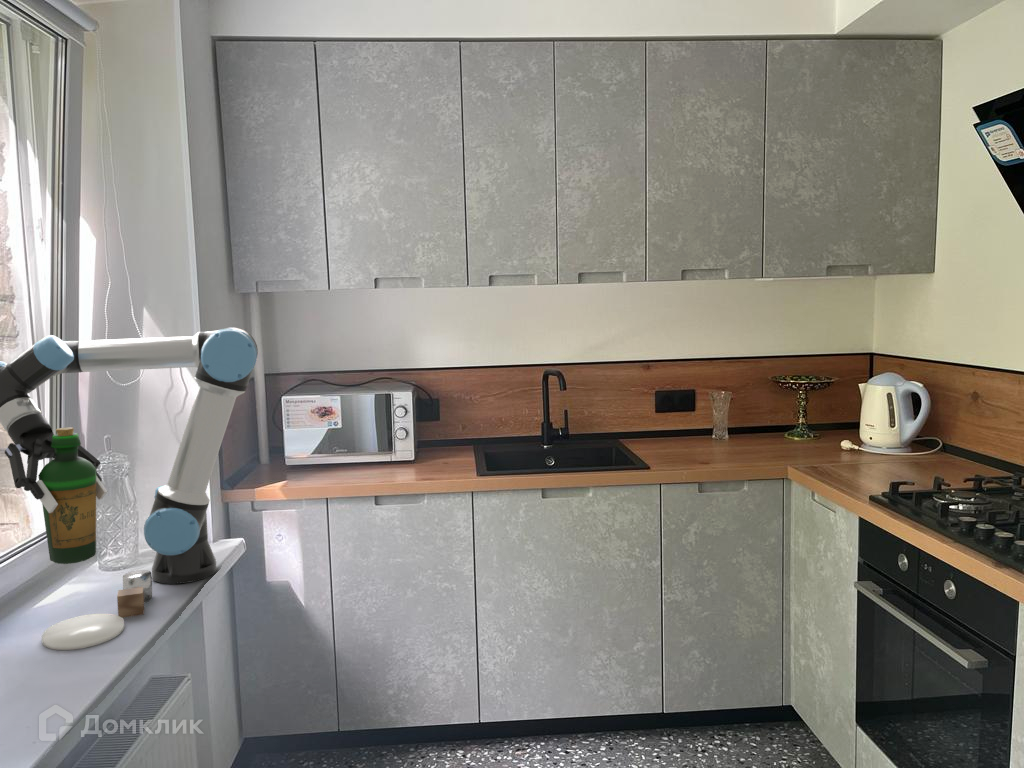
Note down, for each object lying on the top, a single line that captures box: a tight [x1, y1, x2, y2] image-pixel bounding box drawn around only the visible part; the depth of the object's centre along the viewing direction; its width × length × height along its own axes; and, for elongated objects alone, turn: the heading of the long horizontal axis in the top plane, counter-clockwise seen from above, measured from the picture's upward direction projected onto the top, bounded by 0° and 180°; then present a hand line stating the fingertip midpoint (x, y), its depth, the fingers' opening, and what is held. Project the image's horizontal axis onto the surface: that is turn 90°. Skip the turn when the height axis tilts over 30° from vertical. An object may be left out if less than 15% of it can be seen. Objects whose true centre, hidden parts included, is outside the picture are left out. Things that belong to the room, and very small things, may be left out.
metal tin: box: [122, 569, 154, 604], centre depth 179 cm, size 6×6×6 cm
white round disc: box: [41, 613, 125, 651], centre depth 161 cm, size 15×15×1 cm
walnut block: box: [116, 587, 145, 619], centre depth 172 cm, size 5×4×5 cm
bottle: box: [37, 427, 97, 565], centre depth 163 cm, size 11×11×28 cm
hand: (79, 502), depth 162 cm, fingers closed on bottle, 11 cm apart
